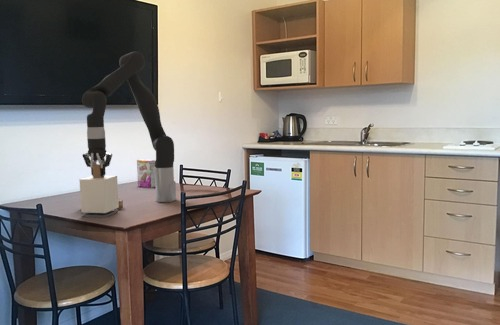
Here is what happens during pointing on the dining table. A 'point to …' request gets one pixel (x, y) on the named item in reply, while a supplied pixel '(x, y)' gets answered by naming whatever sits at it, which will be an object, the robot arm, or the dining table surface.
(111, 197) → the cover
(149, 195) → the dining table surface
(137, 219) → the dining table surface
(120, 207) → the walnut block
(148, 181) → the candy bar box
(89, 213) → the mat
